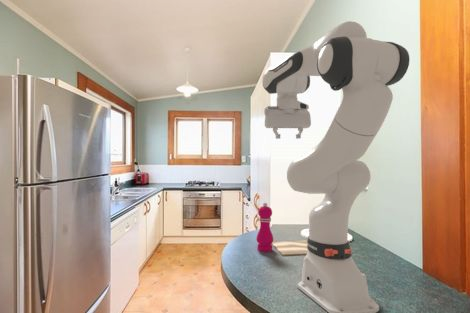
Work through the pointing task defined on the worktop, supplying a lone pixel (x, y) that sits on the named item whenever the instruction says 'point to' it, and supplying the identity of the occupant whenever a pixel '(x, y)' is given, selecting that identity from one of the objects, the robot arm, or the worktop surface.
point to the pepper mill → (265, 229)
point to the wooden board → (291, 247)
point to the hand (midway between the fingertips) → (288, 138)
